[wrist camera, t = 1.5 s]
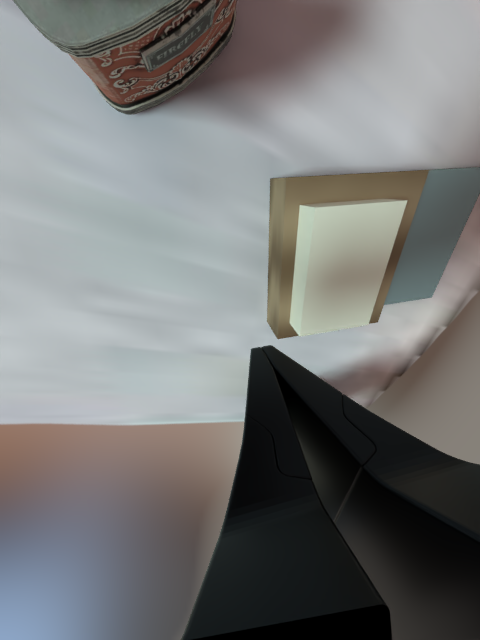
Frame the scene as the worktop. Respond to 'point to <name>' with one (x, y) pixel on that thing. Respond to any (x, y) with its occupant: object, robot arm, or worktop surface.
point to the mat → (434, 232)
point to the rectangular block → (341, 262)
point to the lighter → (136, 43)
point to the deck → (326, 190)
